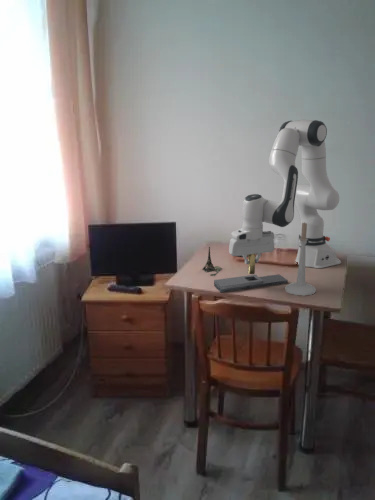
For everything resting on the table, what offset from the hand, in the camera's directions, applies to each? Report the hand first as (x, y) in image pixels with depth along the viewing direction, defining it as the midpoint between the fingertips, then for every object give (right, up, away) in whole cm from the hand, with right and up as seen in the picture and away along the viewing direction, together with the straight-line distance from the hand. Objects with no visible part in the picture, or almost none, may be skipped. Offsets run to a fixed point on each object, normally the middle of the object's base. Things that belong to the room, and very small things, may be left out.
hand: (251, 263), depth 196 cm
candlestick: (+20, -12, -4) cm, 24 cm away
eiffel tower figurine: (-17, -5, +22) cm, 28 cm away
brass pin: (0, -4, +1) cm, 5 cm away
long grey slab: (0, -10, +3) cm, 10 cm away
